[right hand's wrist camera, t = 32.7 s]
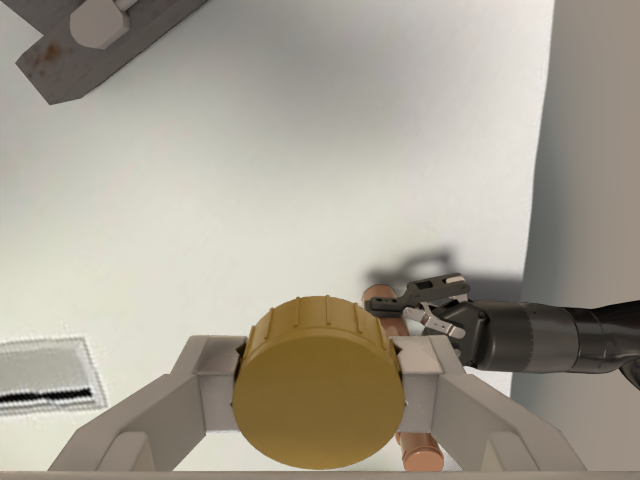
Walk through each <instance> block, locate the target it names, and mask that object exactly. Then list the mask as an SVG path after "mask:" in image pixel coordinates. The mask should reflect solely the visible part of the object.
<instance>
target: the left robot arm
mask: <svg viewBox="0 0 640 480" xmlns="http://www.w3.org/2000/svg"><path fill="white" fill-rule="evenodd" d="M469 291H470V286H469V284H468V283H467V282H466V280H465V279H464V278H463V276H462V275H461V274H460V273H454V274H449V275H444V276H439V277H434V278H429V279H424V280H419V281H414V282H410V283H408V285H407V290H406V292H405V294H404V295H403V296H402V297H400V298H390V297H372V298H370V300H366V301H365V302H364V309H365V310H366V311H367V312H369V313H370V314H371V315H373V316H374V317H388V318H401V315H404V316H405V317H407V318H410V319H412V320H415V321H418V322H420V323H422V324H423V325H424V326H425V328H424V330H423V332H422V334H419V335H414V336H428V335H445V336H447V337H448V339H449V341H450V343H451V345H452V347H453V349H454V351H455V353H456V354H457V356H458V358H459V360H460V362H461V364H462V366H470V367H473V368H475V369H478V370H482V371H500V372H519V373H539V374H543V373H555V372H568V373H586V374H602V373H609V372H612V371H614V370H616V369H618V368H619V370H620V371H621V373H622V374H623V375H624V376H625V377H626V379H627V380H628V381H630V382H631V383H632V384H633V385H634V386H635V387H636V388H637V389H638V390H640V300H638V301H631V302H625V303H619V304H613V305H608V306H604V307H600V308H595V309H584V308H570V307H554V306H548V305H543V304H536V303H528V302H505V301H487V300H477V301H472V300H470V299H468V297H467V293H468V292H469ZM447 297H448V298H450V299H453V300H451V301H449V302H447V303H445V304H443V305H441V306H438V305H435V304H432V303H429V302H426V301H431V300H436V299H441V298H447Z"/></svg>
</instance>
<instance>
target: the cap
mask: <svg viewBox="0 0 640 480" xmlns="http://www.w3.org/2000/svg"><path fill="white" fill-rule="evenodd" d="M240 364H241V365H240V369H239V372H238V376H237V379H236V383H235V387H234V391H233V397H232V407H233V413H234V417H235V421H236V423H237V425H238V428H239V429H240V431H241V433H242V434H243V436H244V437H245V438H246V439H247V441H248V442H249V443H250V444H251V445H252V446H253V447H254V448H256V449H257V450H258V451H260V452H261V453H262V454H264V455H265V456H267V457H269V458H271V459H273V460H275V461H277V462H280V463H282V464H285V465H289V466H292V467H297V468H302V469H312V470H324V469H334V468H340V467H345V466H348V465H352V464H355V463H357V462H360V461H362V460H364V459H366V458H368V457H370V456H372V455H373V454H375V453H376V452H377V451H379V450H380V449H381V448H382V447H384V446H385V445H386V444H387V443H388V442H389V441H390V439H391V438H392V437H393V436H394V434H395V433H396V431H397V430H398V428H399V425H400V423H401V421H402V417H403V414H404V408H405V394H404V390H403V385H402V382H401V379H400V375H399V373H400V367H399V364H398V360H397V355H396V352H395V349H394V346H393V343H392V339H389V337H388V335H387V333H386V331H385V330H384V328H383V326H382V325H381V323H380V319H379V318H375V317H374V316H373V315H371V314H370V313H369V312H367V311H366V310H365V309H363V308H362V307H360V306H358V303H356V302H355V303H351V302H349V301H347V300H344V299H339V298H335V297H329V295H326V296H310V297H302V298H300V297H296V299H294V300H291V301H288V302H286V303H284V304H282V305H280V306H277V307H276V308H274V309H273V308H271V309H270V311H269V312H268V313H267V314H266V315H265V316H264V317H263V318H261V320H260V321H259V322H258V323H257V324H256V325H255V326H252V327H251V331H250V334H249V338H248V340H247V344H246V347H245V351H244V354H243V357H242V358H241V359H240Z"/></svg>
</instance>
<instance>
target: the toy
mask: <svg viewBox="0 0 640 480" xmlns="http://www.w3.org/2000/svg"><path fill="white" fill-rule="evenodd" d="M0 1H2V2H3V3H4V4H5V5H7V6H8V7H9V8H10V9H12V10H13V11H14V12H15V13H17V14H18V15H19V16H20V17H22V18H23V19H24V20H25V21H27V22H28V23H29V24H30V25H32V26H33V27H34V28H35V29H37V30H38V31H39V32H40V33H42V34H43V35H44V36H43V37H42V38H41V39H40V40H39V41H37V42H36V43H35V44H34V45H33V46H31V47H30V48H29V49H28V50H27V51H26V52H24V53H23V54H22V55H21V57H20V58H19V59H18V60H17V62H16V65H17V66H18V67H19V68H20V70H21V71H22V72H23V73H24V74H25V76H26V77H27V78H28V79H29V81H30V82H31V83H32V84H33V85H34V87H35V88H36V89H37V90H38V92H39V93H40V94H41V95H42V96H43V98H44V99H45V100H46V101H47V102H48V104H49V105H53V104H58V103H62V102H67V101H71V100H75V99H80V98H82V97H83V96H85V95H86V94H87V93H88V92H90V91H91V90H92V89H94V88H96V87H97V86H99V85H100V84H101V83H102V82H104V81H105V80H106V79H108V78H109V77H110V76H111V75H113V74H114V73H115V72H116V71H118V70H119V69H120V68H122V67H123V66H124V65H125V64H127V63H128V62H129V61H131V60H132V59H133V58H134V57H136V56H137V55H138V54H139V53H141V52H142V51H143V50H145V49H146V48H147V47H148V46H150V45H151V44H152V43H153V42H155V41H156V40H157V39H159V38H160V37H161V36H162V35H164V34H165V33H166V32H167V31H169V30H170V29H171V28H173V27H174V26H175V25H176V24H178V23H179V22H180V21H181V20H183V19H184V18H185V17H187V16H188V15H189V14H190V13H192V12H193V11H194V10H195V9H197V8H198V7H199V6H201V5H202V4H203V3H204V2H206V1H207V0H0Z"/></svg>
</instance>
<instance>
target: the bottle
mask: <svg viewBox="0 0 640 480" xmlns="http://www.w3.org/2000/svg"><path fill="white" fill-rule="evenodd" d="M372 297H390V298H397V295H396V293H395V291H394V290H393V289H392V288H390V287H389V286H386V285H375V286H372V287H370V288H369V289H367V290H366V291H365V293H364V294H363V297H362V306H363V309H364V302H365V301H366V300H370V298H372ZM375 318H379V319H380V323H381V325H382V326H383V328H384V330H385V331H386V333H387V335H388V337H389V338H390V336H411V333H410V331H409V328H408V325H407V322H406V320H405V317H404V315H401V318H388V317H375ZM394 435H395V438H396V441H397V443H398V444H399V445H400V446H401V450H402V455H403V456H402V460H403V465H404V468H405V470H406V471H441V470H442V468H443V465H444V460H443V459H444V457H443V453H442V452H441V450H440V448H439V445H438V442H437V441H436V440H435V439H434V438H433V437H432V435H431V433H409V432H397V431H396V433H395V434H394Z"/></svg>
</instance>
